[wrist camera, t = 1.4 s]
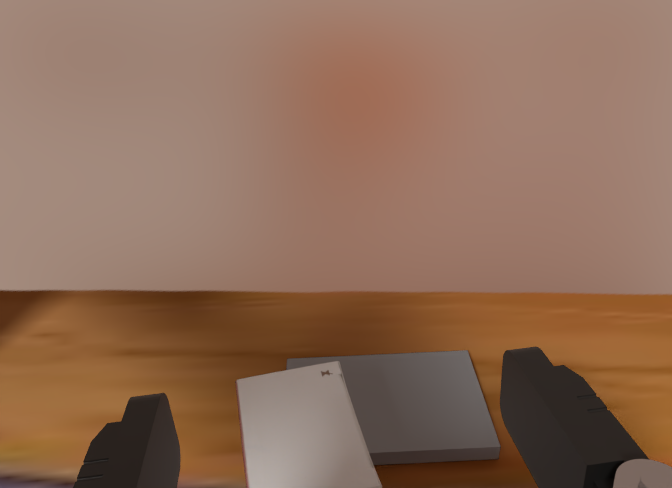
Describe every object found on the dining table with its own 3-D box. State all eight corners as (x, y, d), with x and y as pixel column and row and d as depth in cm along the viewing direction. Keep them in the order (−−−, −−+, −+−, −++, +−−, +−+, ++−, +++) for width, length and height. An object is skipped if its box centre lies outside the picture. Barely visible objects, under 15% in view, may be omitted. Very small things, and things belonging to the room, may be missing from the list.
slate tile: (282, 469, 36) (280, 457, 35) (288, 370, 43) (287, 358, 43) (498, 458, 36) (500, 446, 35) (466, 361, 43) (467, 350, 43)
